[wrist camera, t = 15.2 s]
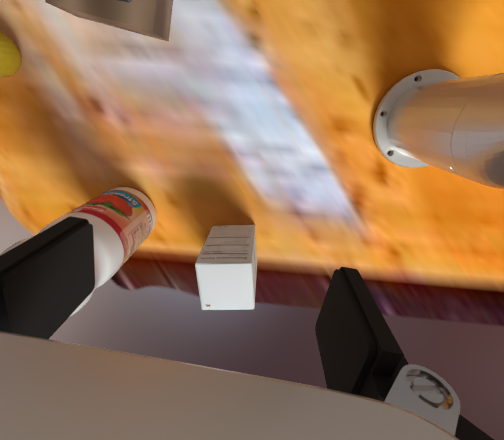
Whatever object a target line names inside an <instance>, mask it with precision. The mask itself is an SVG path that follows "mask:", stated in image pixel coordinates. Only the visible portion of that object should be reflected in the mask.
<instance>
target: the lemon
mask: <svg viewBox="0 0 504 440" xmlns="http://www.w3.org/2000/svg"><path fill="white" fill-rule="evenodd" d="M20 66H21V55H20V52H19V50H18V48H17V46H16V45H15V43H14V42H13V41H12V40H11V39H10V38H9V37H8V36H6V35H5V34H3V33H2V32H0V77H6V76H10V75H12V74H14V73H16V72H17V71H18V70H19V68H20Z"/></svg>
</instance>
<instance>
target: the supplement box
mask: <svg viewBox="0 0 504 440" xmlns="http://www.w3.org/2000/svg"><path fill="white" fill-rule="evenodd" d="M195 267H196V273H197V280H198V288H199V294H200V300H201V308H202V310H236V309H237V310H238V309H240V310H241V309H242V310H244V309H254V305H255V287H256V272H257V256H256V236H255V225H217V226H212V228H211V230H210V233H209V235H208V237H207V239H206V241H205V244H204V246H203V248H202V250H201V252H200V254H199V257H198V259H197V261H196V263H195Z"/></svg>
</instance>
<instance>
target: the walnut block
mask: <svg viewBox="0 0 504 440" xmlns="http://www.w3.org/2000/svg"><path fill="white" fill-rule="evenodd" d="M45 1H46V3H49V4H51V5H53V6H55V7H57V8H59V9H62V10H64V11H66V12H68V13H70V14H73V15H75V16H77V17H81V18H84V19H88V20H92V21H95V22H99V23H103V24H106V25H110V26H114V27H117V28H121V29H125V30H128V31H132V32H136V33H139V34H143V35H147V36H150V37H154V38H158V39H161V40H165V41H169V32H170V23H171V14H172V5H173V0H131V1H130V2H124V1H119V0H45Z"/></svg>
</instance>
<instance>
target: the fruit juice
mask: <svg viewBox="0 0 504 440" xmlns="http://www.w3.org/2000/svg"><path fill="white" fill-rule="evenodd" d="M70 216H72V217H78V218H83V219H87V220H88V221H89V224H92V226H93V236H94V262H95V287H94V289H95V288H97V287H99V286H101V285H103V284H104V283H105V282H106V281H107V280H109V279H110V278H111V277H112V276H113V275H114V274H115V273H116V272H117V271H118V270H119V268H120V267H121V266H122V265H123V264H124V263H125V262H126V260H127V259H128V258H129V257H130V256H131V255H132V254H133V253H134V252H135V250H136V249H137V248H138V247H139V246H140V245H141V244H142V243H143V242H144V240H145V239H146V238H147V237H148V236H149V235H150V234H151V232H152V231H153V229H154V227H155V224H156V211H155V208H154V206H153V204H152V202H151V201H150V199H149V198H148V197H147V196H146V195H144V194H143V193H142V192H140V191H138V190H136V189H133V188H129V187H117V188H114V189H111V190H109V191H107V192H105V193H103V194H101V195H99V196H98V197H96V198H94V199H92V200H90V201H88V202H87V203H85V204H83V205H81V206H79V207H78V208H76V209H74V210H72V211H70V212H68V213H67V214H65V215H63V216H61V217H59V218H57V219H55V220H54V221H52V222H51V223H49V224H48V225H47V226H45V227H44V228H43V229H42V230H41V231H40V232H39V233H41V232H43V231H44V230H46V229H48V228H50V227H51V226H53V225H55V224H57V223H58V222H60V221H62V220H64V219H65V218H67V217H70ZM39 233H38V234H39ZM33 237H34V236H33ZM30 238H32V237H30ZM30 238H27V239H23V240H21V241H19V242H17V243H15V244H13V245H12V246H10V247H9V248H7V249H6V250H5V251H4V252H2V253H1V255H2V254H4V253H6V252H7V251H9V250H11V249H13V248H14V247H16V246H18V245H20V244H22V243H23V242H25V241H27V240H29V239H30ZM94 289H93V291H92V293H91V294H90V295H89V296H88V297H87V298H86V299H85V300H84V301H83V302H82V303H81V304H80V306H79V307H78V308H77V309H76V310H75V311H74V312H73V313H72V314H71V315H70V316H72V315H73V314H75V313H76V312H78V311H79V310H80V309H81V308H82V307H83V306H84V305H85V304H86V303H87V302H88V300H89V299H90V298H91V296H92V294H93V292H94ZM70 316H69V317H70Z"/></svg>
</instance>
